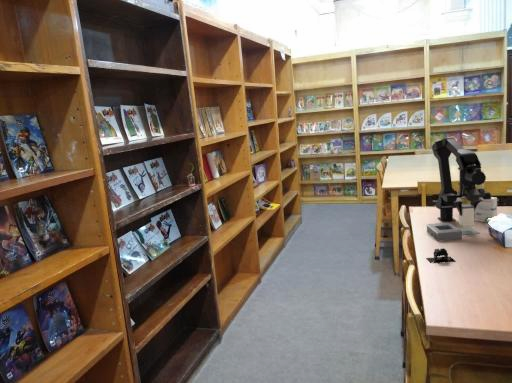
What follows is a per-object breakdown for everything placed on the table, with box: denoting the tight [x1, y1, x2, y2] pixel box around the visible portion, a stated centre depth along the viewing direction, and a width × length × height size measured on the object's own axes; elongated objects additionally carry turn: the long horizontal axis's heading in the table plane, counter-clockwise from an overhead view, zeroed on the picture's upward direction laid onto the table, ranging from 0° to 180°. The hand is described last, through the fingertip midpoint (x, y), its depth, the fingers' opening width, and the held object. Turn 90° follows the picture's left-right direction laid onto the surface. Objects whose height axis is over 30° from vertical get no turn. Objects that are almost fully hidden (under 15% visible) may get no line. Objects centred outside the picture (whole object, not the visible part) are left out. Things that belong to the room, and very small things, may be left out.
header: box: [425, 222, 463, 242], centre depth 180 cm, size 14×10×4 cm
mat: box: [457, 226, 481, 236], centre depth 182 cm, size 8×8×1 cm
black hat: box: [425, 248, 457, 264], centre depth 153 cm, size 12×7×5 cm, turn 86°
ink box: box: [474, 196, 498, 223], centre depth 193 cm, size 9×5×12 cm, turn 39°
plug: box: [458, 204, 475, 228], centre depth 180 cm, size 4×4×9 cm
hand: (466, 215), depth 181 cm, fingers closed on plug, 4 cm apart
